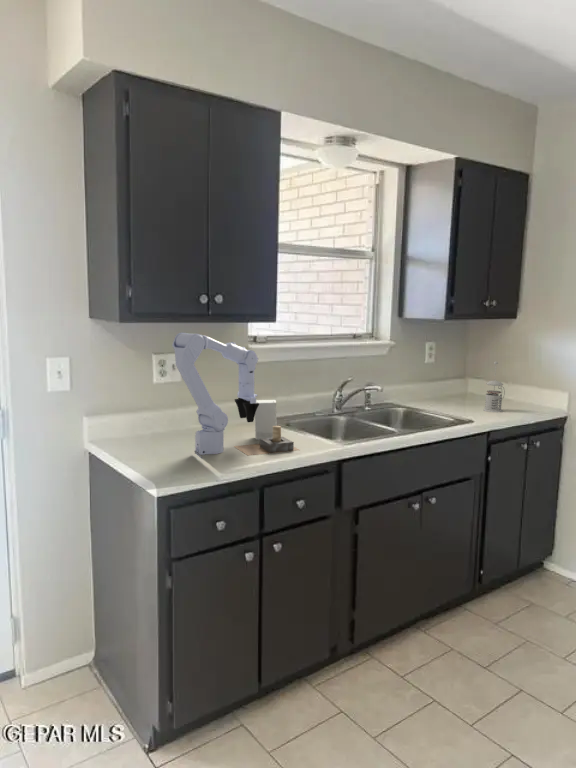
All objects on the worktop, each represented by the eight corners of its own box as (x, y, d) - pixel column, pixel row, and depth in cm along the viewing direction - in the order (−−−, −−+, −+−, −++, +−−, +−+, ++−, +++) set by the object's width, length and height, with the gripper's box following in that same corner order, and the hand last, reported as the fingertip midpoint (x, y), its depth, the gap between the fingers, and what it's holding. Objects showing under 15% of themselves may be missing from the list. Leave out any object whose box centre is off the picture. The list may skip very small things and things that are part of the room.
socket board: (247, 458, 200) (247, 446, 200) (233, 449, 213) (233, 438, 212) (300, 453, 209) (300, 441, 208) (283, 444, 221) (283, 433, 221)
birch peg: (274, 450, 208) (274, 427, 207) (270, 447, 211) (271, 426, 210) (282, 449, 210) (282, 427, 208) (278, 447, 212) (278, 425, 211)
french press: (478, 409, 301) (481, 360, 298) (494, 407, 307) (497, 360, 303) (493, 412, 293) (496, 362, 289) (509, 411, 298) (513, 361, 295)
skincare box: (276, 438, 230) (276, 399, 228) (276, 442, 224) (277, 402, 222) (254, 438, 230) (255, 399, 228) (254, 442, 224) (254, 402, 221)
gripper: (264, 385, 208) (264, 422, 209) (250, 379, 221) (250, 415, 223) (245, 386, 205) (245, 424, 207) (232, 380, 218) (232, 416, 220)
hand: (246, 419), depth 214 cm, fingers open, 7 cm apart
